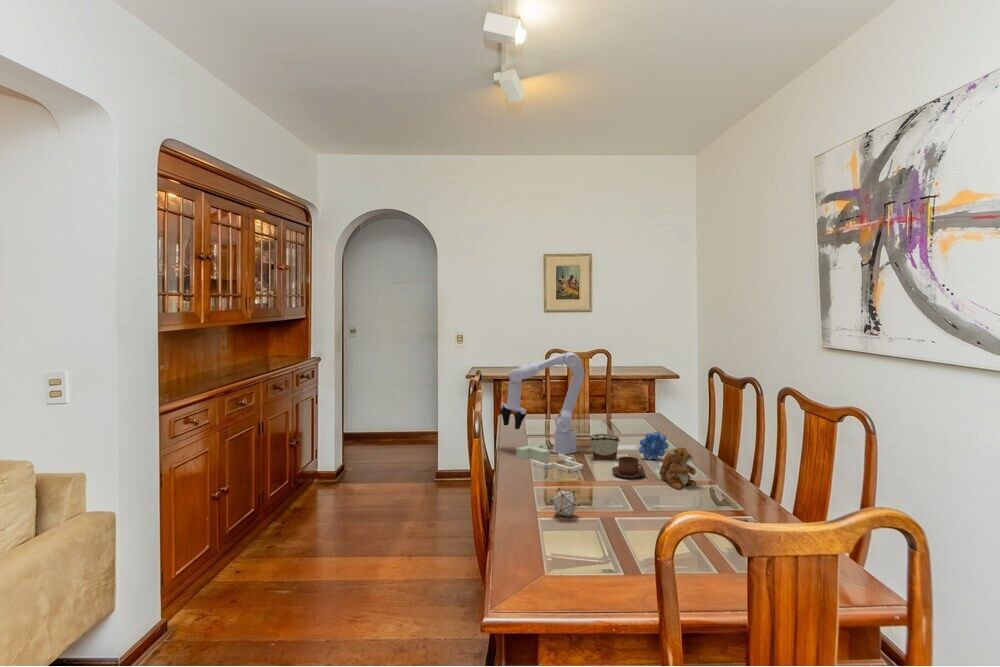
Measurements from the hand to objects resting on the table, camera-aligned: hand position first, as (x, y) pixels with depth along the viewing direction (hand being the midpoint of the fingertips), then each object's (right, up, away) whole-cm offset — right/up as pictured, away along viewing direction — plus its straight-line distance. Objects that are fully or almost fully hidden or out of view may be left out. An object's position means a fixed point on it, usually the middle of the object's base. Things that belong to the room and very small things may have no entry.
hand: (511, 427), depth 225 cm
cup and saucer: (+43, -13, -32) cm, 55 cm away
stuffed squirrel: (+58, -13, -41) cm, 72 cm away
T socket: (+19, -12, -20) cm, 30 cm away
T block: (+10, -11, -9) cm, 18 cm away
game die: (+14, -14, -71) cm, 74 cm away
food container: (+39, -12, -10) cm, 42 cm away
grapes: (+59, -12, -12) cm, 61 cm away
